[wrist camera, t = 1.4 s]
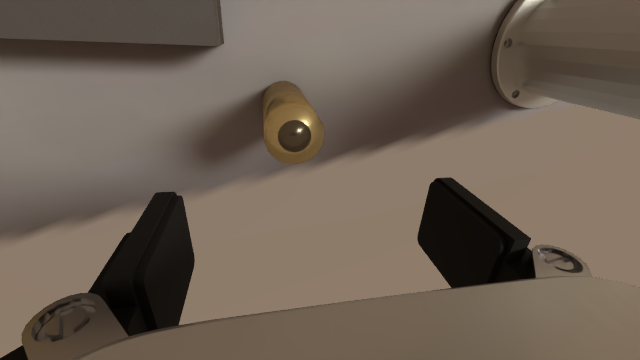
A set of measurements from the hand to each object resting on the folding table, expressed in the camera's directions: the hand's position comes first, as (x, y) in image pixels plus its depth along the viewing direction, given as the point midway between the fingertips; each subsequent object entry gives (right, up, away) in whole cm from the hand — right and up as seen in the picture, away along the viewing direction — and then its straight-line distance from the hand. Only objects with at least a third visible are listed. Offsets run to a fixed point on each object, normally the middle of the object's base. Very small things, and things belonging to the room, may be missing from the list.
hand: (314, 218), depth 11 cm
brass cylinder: (-3, +9, +17) cm, 20 cm away
